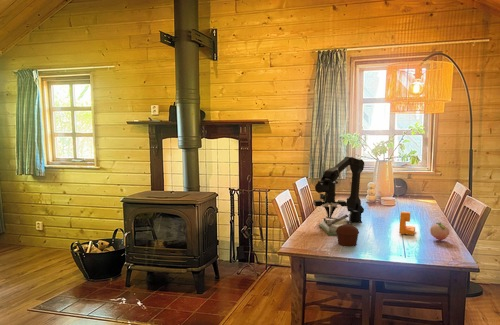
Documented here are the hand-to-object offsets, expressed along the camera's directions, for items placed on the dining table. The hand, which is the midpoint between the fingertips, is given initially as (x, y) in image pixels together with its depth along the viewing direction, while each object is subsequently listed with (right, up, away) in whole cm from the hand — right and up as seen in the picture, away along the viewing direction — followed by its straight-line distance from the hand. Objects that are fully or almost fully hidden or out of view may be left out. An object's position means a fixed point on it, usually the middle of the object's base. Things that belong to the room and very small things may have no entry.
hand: (329, 217), depth 222 cm
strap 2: (+3, -1, -9) cm, 9 cm away
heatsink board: (+4, -7, -4) cm, 9 cm away
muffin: (+3, -9, -31) cm, 32 cm away
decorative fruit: (+51, -8, -27) cm, 59 cm away
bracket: (+41, -7, -11) cm, 44 cm away
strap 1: (+4, -1, 0) cm, 4 cm away
